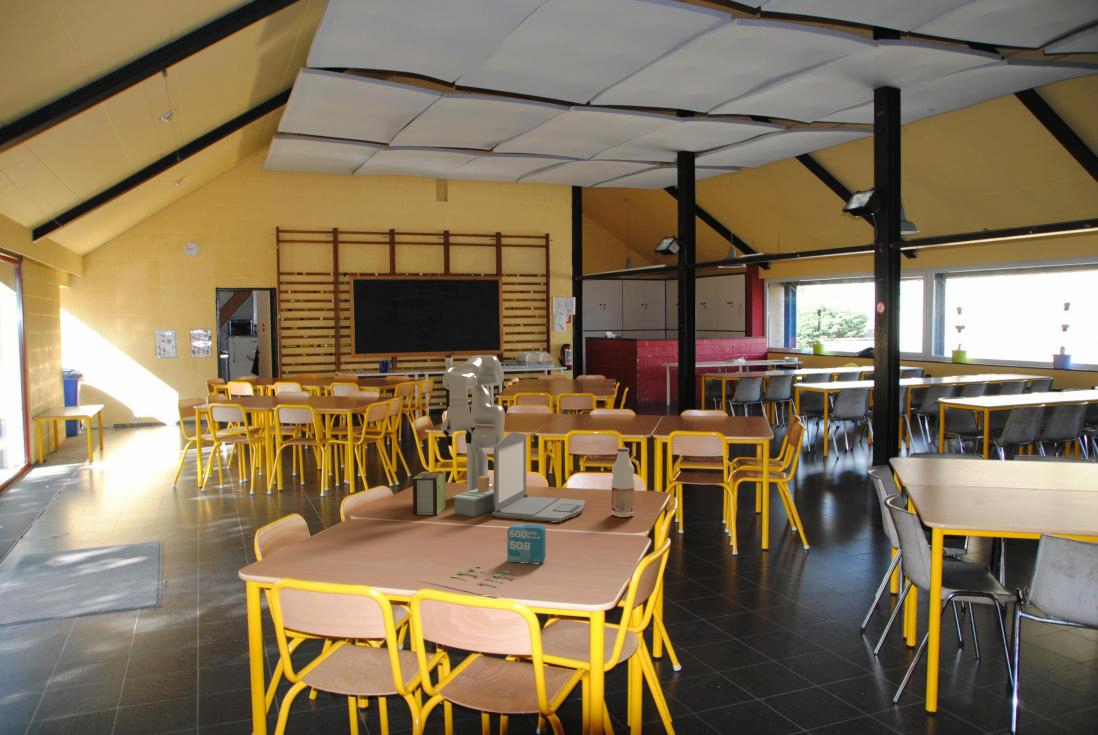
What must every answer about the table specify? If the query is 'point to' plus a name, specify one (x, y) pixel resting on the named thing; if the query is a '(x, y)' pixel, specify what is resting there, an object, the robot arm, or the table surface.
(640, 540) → the table surface
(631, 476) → the fruit juice
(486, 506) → the tub
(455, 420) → the robot arm
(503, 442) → the laptop
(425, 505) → the protein box
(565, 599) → the table surface
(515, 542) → the data package
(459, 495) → the lid
